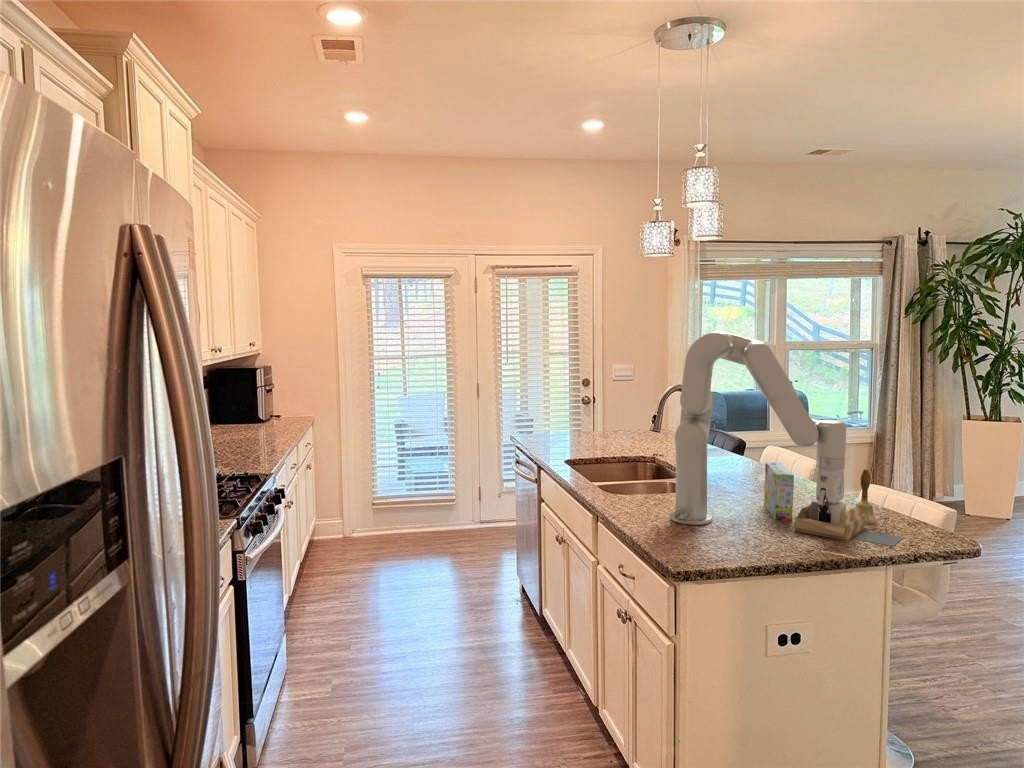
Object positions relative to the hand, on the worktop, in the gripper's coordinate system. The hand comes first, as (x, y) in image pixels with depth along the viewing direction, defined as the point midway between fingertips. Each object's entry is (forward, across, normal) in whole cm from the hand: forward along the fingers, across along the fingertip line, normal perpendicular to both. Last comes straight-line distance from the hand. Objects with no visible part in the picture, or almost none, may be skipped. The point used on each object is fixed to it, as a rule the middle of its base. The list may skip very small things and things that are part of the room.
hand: (827, 523), depth 194 cm
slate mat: (+2, 0, -14) cm, 14 cm away
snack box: (+3, +9, +18) cm, 21 cm away
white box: (+1, 0, 0) cm, 1 cm away
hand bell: (+2, +18, -4) cm, 19 cm away
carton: (+2, 0, 0) cm, 2 cm away
